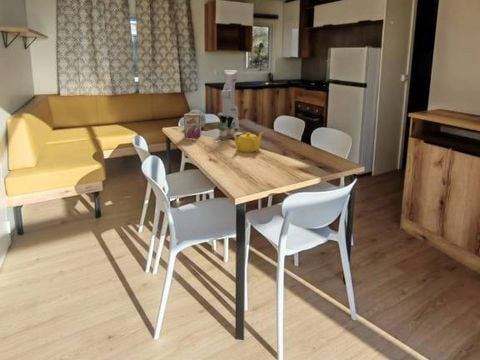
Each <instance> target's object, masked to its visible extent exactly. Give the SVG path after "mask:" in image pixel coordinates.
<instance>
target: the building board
mask: <svg viewBox="0 0 480 360" xmlns="http://www.w3.org/2000/svg"><path fill="white" fill-rule="evenodd" d="M243 134H245V133H244V132H241V131H240V132H239V131H235V129H234V128H230V129H226V130H218V128H214V129H209V130H206V131H201V136H203V137H209V138H215V139H218V140H219V141H225V140H229V139H232V138H234V137H233V136H236V137H237V138H238V137H239V136H240V135H243Z"/></svg>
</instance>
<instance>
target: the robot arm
mask: <svg viewBox="0 0 480 360" xmlns="http://www.w3.org/2000/svg"><path fill="white" fill-rule="evenodd" d="M223 78H224V81H225V83H224V84H223V89H222V90H221V101H222V112H218V113H217V116H218V117H219V119H220V121H221V123H224V122H228V128H230V127H231V123H232V121H234V122H235V127H234V130H236V129H237V130H241V129H240V120H239V118H238V117H239V109H238V106H236V105H235V90H236V87H235V86H236V83H237V82H238V81H239V71H238V70H230V69H229V70H228V69H225V70H224V71H223Z"/></svg>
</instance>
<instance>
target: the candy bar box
mask: <svg viewBox="0 0 480 360" xmlns="http://www.w3.org/2000/svg"><path fill="white" fill-rule="evenodd" d="M183 128H184V130H183V132H184V139H191V138H201V137H202V135H201V132H202V128H201V114H188V113H184V114H183Z"/></svg>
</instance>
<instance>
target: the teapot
mask: <svg viewBox="0 0 480 360" xmlns="http://www.w3.org/2000/svg"><path fill="white" fill-rule="evenodd" d="M263 134H264V132H260V133H259V134H258V136H257V134H253V133H251V132H245V133H244V134H243V135H240V136H237V137H236V136H233V138H234V144H235V147H236V149H237V150H238V151H239V152H241V153H254V151H255V152H258V151H259V150H260V147H261V146H260V144H261V142H262V135H263Z"/></svg>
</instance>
